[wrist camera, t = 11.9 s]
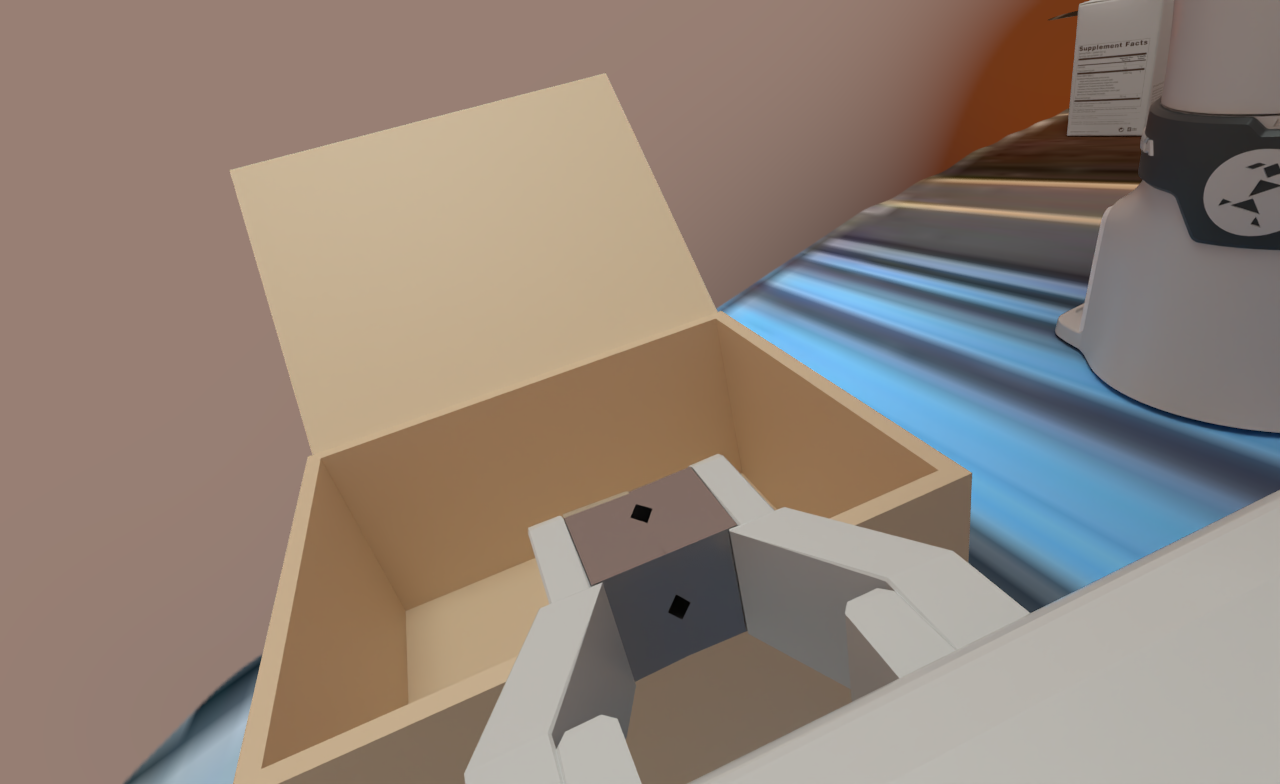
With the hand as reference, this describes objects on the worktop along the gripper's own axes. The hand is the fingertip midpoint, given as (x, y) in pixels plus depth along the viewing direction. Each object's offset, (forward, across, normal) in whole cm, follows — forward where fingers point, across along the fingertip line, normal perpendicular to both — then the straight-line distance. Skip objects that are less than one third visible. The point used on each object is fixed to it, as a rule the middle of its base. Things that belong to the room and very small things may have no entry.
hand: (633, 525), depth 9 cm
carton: (+12, 0, +16) cm, 20 cm away
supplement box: (+55, -81, +16) cm, 99 cm away
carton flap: (+25, 0, +1) cm, 25 cm away
